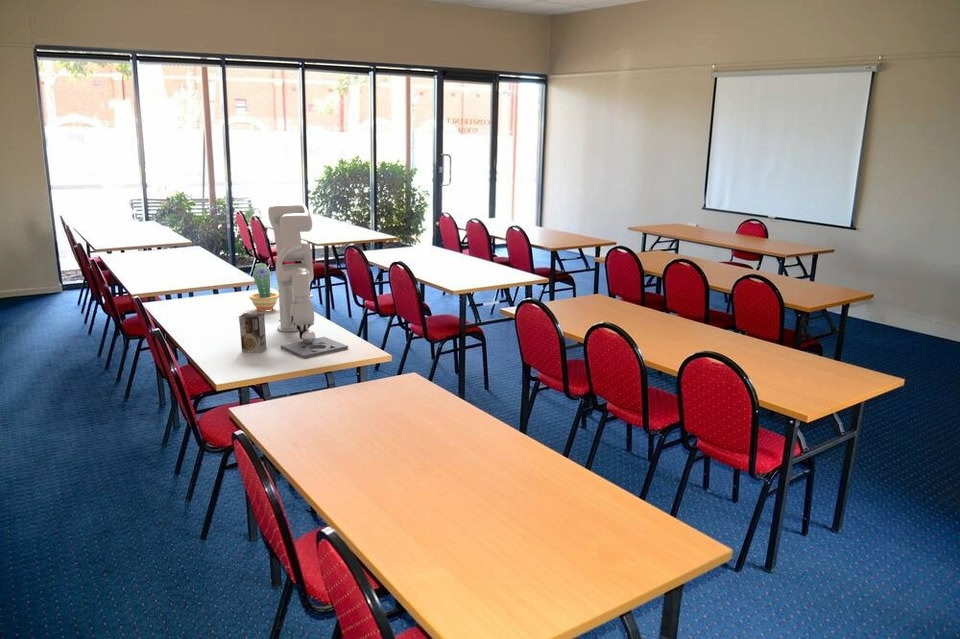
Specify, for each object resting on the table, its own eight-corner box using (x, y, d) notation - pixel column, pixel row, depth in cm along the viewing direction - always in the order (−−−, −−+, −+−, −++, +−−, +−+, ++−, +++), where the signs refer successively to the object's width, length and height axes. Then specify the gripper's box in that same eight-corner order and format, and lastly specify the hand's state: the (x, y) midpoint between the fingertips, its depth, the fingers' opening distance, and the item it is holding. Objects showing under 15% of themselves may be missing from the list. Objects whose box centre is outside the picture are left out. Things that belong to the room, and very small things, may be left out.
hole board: (280, 348, 324) (280, 345, 323) (324, 339, 338) (324, 336, 338) (303, 358, 310) (303, 355, 309) (348, 349, 324) (348, 345, 324)
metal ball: (298, 339, 327) (300, 328, 324) (310, 337, 331) (312, 326, 328) (304, 347, 324) (307, 336, 321) (316, 345, 328) (319, 334, 325)
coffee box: (267, 348, 323) (264, 313, 319) (261, 353, 317) (259, 316, 313) (247, 347, 324) (244, 312, 320) (241, 352, 318) (238, 316, 314)
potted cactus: (244, 311, 388) (240, 265, 382) (260, 305, 403) (257, 260, 396) (269, 314, 384) (266, 267, 378) (285, 307, 398) (283, 262, 392)
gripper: (312, 295, 333) (314, 334, 337) (282, 300, 323) (284, 340, 327) (320, 298, 327) (322, 338, 332) (290, 303, 318) (292, 344, 322)
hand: (303, 339), depth 330 cm, fingers closed
